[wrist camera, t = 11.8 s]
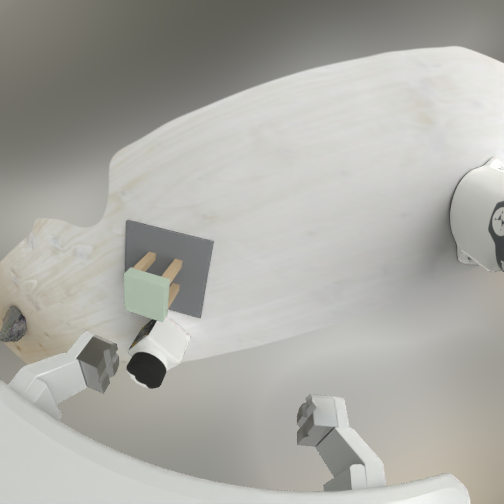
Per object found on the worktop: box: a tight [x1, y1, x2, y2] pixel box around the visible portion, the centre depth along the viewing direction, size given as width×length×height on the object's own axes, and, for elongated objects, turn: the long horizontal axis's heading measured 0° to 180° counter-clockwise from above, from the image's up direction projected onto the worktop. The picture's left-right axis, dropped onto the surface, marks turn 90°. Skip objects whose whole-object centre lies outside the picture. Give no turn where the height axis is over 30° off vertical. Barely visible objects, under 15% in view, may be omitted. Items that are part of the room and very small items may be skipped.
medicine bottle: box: [127, 316, 191, 388], centre depth 42 cm, size 7×7×12 cm
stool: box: [124, 252, 182, 322], centre depth 38 cm, size 6×6×8 cm
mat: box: [125, 220, 214, 318], centre depth 42 cm, size 14×14×1 cm
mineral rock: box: [0, 306, 26, 342], centre depth 51 cm, size 13×11×10 cm
